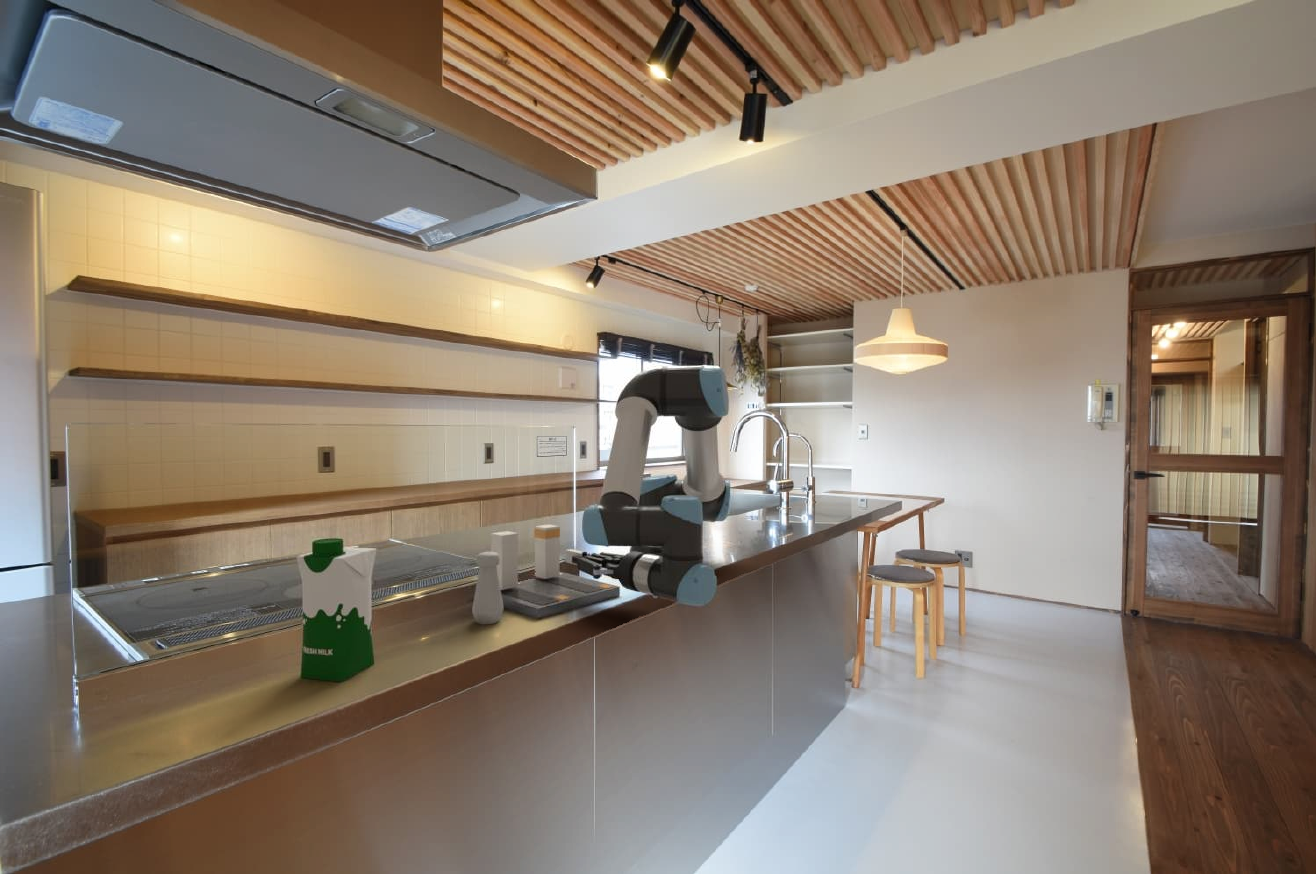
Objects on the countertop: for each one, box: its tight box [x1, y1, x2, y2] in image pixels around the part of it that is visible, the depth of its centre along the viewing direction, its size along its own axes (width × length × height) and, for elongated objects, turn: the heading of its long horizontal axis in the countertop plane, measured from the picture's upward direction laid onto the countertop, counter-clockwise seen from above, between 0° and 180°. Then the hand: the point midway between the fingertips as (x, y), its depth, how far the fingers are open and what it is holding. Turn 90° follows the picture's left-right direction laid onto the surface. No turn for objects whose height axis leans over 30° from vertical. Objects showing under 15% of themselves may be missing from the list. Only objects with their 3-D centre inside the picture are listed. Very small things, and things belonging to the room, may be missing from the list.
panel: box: [500, 571, 621, 620], centre depth 131 cm, size 22×22×2 cm
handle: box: [534, 523, 561, 579], centre depth 139 cm, size 4×4×12 cm
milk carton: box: [296, 537, 378, 683], centre depth 90 cm, size 9×9×20 cm
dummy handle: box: [490, 530, 519, 590], centre depth 129 cm, size 4×4×12 cm
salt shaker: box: [471, 551, 504, 626], centre depth 114 cm, size 6×6×13 cm
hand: (568, 555), depth 133 cm, fingers closed
